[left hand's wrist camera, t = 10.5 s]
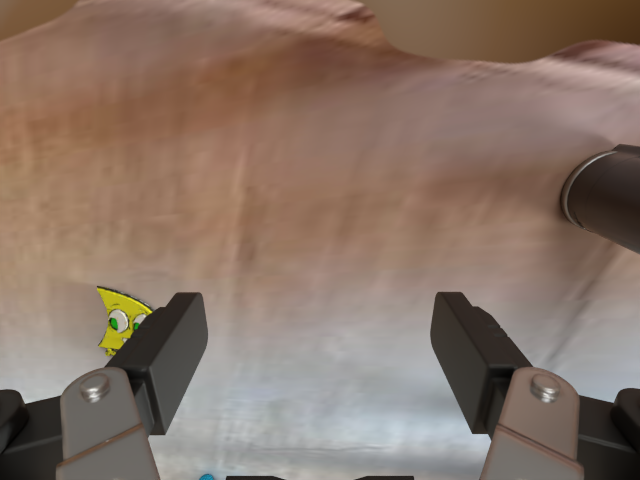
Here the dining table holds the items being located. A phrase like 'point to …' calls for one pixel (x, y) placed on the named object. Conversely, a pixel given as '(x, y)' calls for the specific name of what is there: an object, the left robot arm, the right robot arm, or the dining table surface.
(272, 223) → the dining table surface
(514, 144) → the dining table surface
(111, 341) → the toy
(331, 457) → the dining table surface
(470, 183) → the dining table surface
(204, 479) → the toy
